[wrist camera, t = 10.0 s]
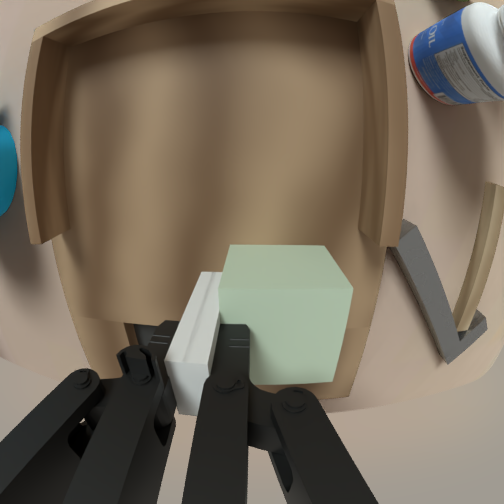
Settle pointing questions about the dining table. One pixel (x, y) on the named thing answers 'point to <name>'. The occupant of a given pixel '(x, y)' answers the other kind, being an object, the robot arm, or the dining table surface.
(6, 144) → the mug
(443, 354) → the crook tool
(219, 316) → the robot arm
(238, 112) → the cubby deck
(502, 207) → the dowel
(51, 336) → the dining table surface
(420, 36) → the pill bottle
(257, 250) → the block
